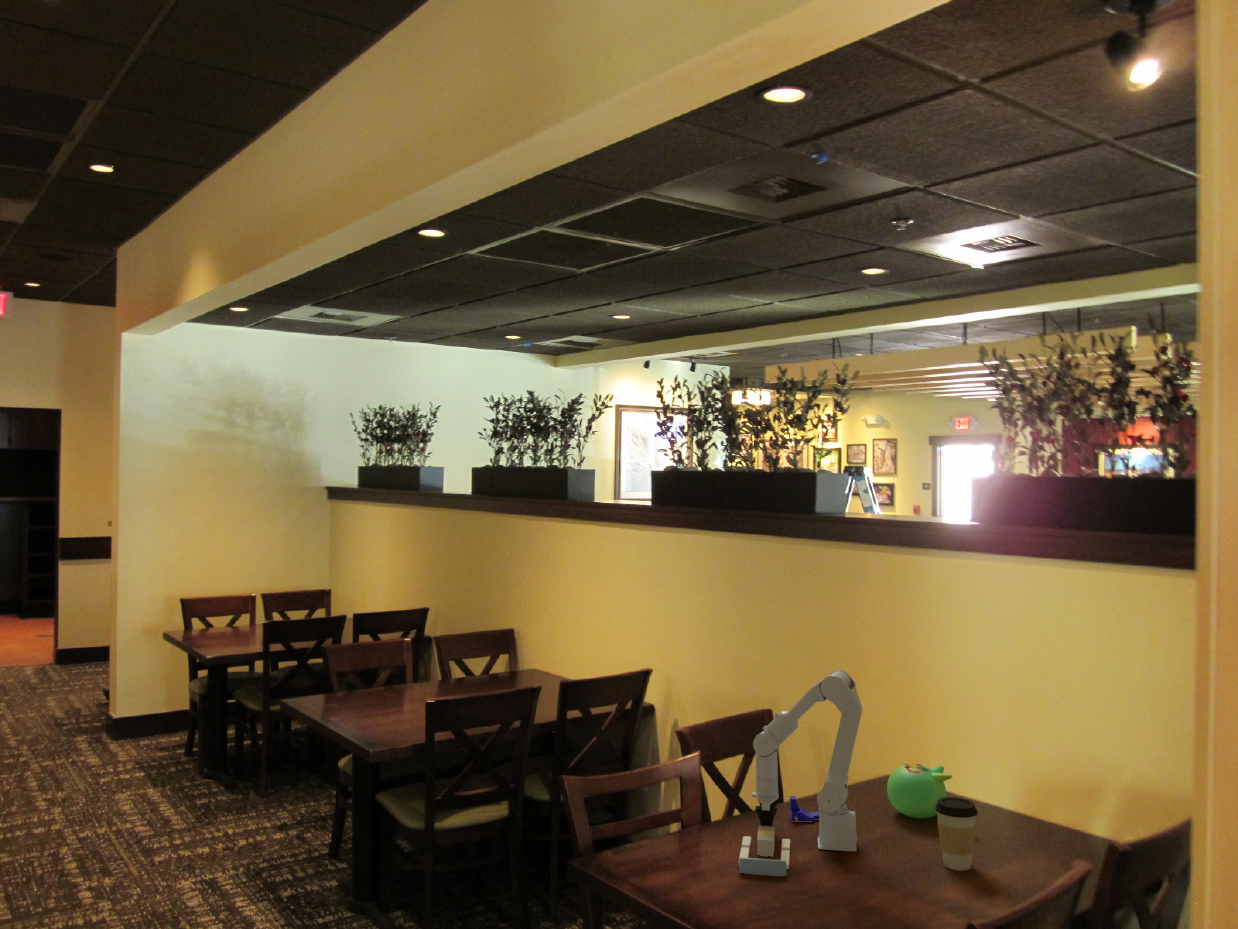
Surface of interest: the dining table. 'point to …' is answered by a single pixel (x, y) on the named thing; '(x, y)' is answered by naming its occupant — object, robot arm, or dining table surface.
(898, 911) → the dining table surface
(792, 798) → the navy blue l-shaped piece
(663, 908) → the dining table surface
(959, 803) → the coffee cup
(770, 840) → the banded cream box
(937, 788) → the toy bird
